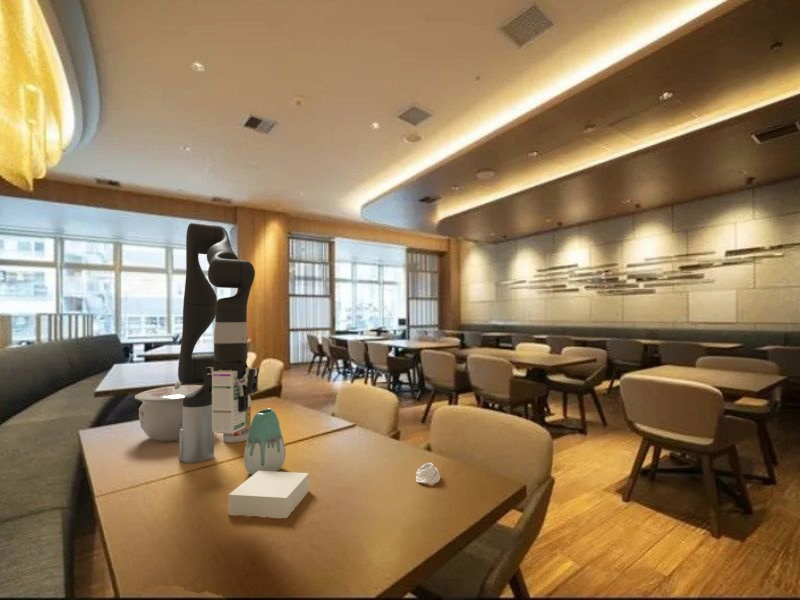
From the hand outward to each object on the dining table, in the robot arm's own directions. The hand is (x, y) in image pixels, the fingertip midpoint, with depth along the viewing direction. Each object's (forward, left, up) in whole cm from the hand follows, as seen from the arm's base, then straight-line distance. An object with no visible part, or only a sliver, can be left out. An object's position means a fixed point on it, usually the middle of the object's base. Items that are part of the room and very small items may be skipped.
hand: (230, 410), depth 95 cm
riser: (+9, +4, -23) cm, 25 cm away
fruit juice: (-28, +48, -23) cm, 60 cm away
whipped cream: (+45, +23, -23) cm, 56 cm away
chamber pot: (-53, +48, -23) cm, 75 cm away
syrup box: (0, 0, -5) cm, 5 cm away
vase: (-2, +21, -23) cm, 31 cm away
